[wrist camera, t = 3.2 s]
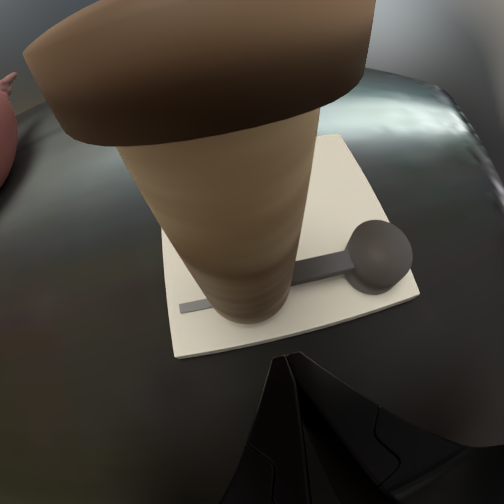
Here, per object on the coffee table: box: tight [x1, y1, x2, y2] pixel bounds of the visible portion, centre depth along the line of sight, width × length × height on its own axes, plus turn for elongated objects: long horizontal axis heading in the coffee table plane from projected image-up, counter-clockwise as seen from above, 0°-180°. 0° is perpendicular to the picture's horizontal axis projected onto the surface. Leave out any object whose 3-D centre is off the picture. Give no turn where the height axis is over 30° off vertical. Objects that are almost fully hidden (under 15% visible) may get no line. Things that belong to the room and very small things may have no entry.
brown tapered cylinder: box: [23, 0, 413, 324], centre depth 9 cm, size 11×5×14 cm, turn 101°
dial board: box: [161, 134, 420, 359], centre depth 17 cm, size 14×14×1 cm
